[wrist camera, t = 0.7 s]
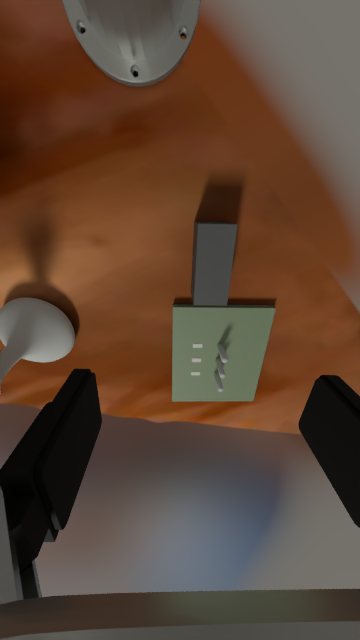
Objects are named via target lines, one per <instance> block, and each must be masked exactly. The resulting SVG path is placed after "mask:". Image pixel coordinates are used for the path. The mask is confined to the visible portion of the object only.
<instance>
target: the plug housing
mask: <svg viewBox="0 0 360 640" xmlns="http://www.w3.org/2000/svg"><path fill="white" fill-rule="evenodd" d="M237 225H238V224H233V223H229V222H198V221H194V239H193V260H192V281H191V295H192V300H193V305H224V306H227V302H228V294H229V286H230V279H231V271H232V263H233V256H234V248H235V241H236V233H237Z"/></svg>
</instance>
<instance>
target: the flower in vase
mask: <svg viewBox="0 0 360 640" xmlns="http://www.w3.org/2000/svg"><path fill="white" fill-rule="evenodd" d="M0 339H1V341H2V342H3V344H4V345H5V346H6V347H5V348H4V349H3V350H2V351H1V352H0V385H1V382H2V380H3V378H4V377H5V375H6V374H7V373H8V371H9V370H10V369H11V368H12V367H13V366H14V364H15V363H17V362H18V361H19V360H20V359H22V358H23V359H26V360H29V361H34V362H52V361H55V360H58V359H60V358H62V357H64V356H66V355H67V354H68V353H69V352H70V351H71V350H72V348H73V346H74V342H75V333H74V329H73V326H72V324H71V322H70V320H69V319H68V317H67V316H66V315H65V314H64V313H63V312H62V311H61V310H60V309H58V308H57V307H56V306H54V305H52V304H50V303H48V302H46V301H43V300H40V299H36V298H29V297H24V298H17V299H14V300H11V301H9V302H8V303H6V304H5V305H4V306H3V307H2V308H1V310H0Z"/></svg>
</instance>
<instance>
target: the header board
mask: <svg viewBox="0 0 360 640" xmlns="http://www.w3.org/2000/svg"><path fill="white" fill-rule="evenodd" d="M275 309H276V308H275V307H274V306H273V305H227V306H224V305H193V304H173V360H172V401H253V400H254V396H255V391H256V387H257V383H258V379H259V375H260V371H261V367H262V363H263V359H264V355H265V350H266V346H267V342H268V338H269V334H270V330H271V326H272V322H273V318H274V313H275Z"/></svg>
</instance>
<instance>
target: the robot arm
mask: <svg viewBox="0 0 360 640" xmlns="http://www.w3.org/2000/svg"><path fill="white" fill-rule="evenodd" d="M200 1H201V0H62V2H63V5H64V8H65V11H66V14H67V17H68V20H69V22H70V24H71V26H72V29H73V31H74V33H75V35H76V37H77V39H78V41H79V42H80V44H81V46H82V47H83V49H84V51H85V52H86V53H87V55H88V56H89V57H90V59H91V60H92V61H93V63H94V64H95V65H96V66H97V67H98V68H99V69H100V70H101V71H102V72H104V73H105V74H106V75H107V76H109V77H111V78H112V79H114V80H115V81H117V82H120V83H122V84H125V85H128V86H136V87H142V86H148V85H152V84H155V83H157V82H159V81H161V80H163V79H164V78H165V77H167V76H168V75H169V74H171V73H172V72H173V71H174V70H175V68H176V67H177V66H178V65H179V64H180V63H181V61H182V59H183V57H184V56H185V54H186V52H187V51H188V49H189V46H190V44H191V41H192V38H193V36H194V33H195V29H196V25H197V20H198V16H199V8H200ZM84 30H85V33H83V34H82V32H83V31H84ZM182 36H185V38H186V39H181V37H182ZM135 73H138V76H137V77H134V74H135ZM101 423H102V417H101V411H100V404H99V397H98V390H97V383H96V377H95V373H91V370H90V369H74V370H73V371H72V372H71V374H70V375H69V377H68V378H67V380H66V381H65V383H64V385H63V386H62V388H61V389H60V391H59V392H58V394H57V395H56V397H55V398H54V400H53V401H52V402H49V403H47V404H46V405H45V406H44V407H43V409H42V410H41V412H40V413H39V414H38V416H37V418H36V419H35V420H34V422H33V423H32V425H31V426H30V427H29V429H28V430H27V432H26V433H25V435H24V436H23V438H22V439H21V441H20V442H19V444H18V445H17V446H16V448H15V449H14V451H13V452H12V454H11V455H10V456H9V458H8V459H7V461H6V462H5V464H4V465H3V467H2V468H1V469H0V640H360V589H311V590H310V589H309V590H249V591H248V590H247V591H197V592H194V591H193V592H152V593H151V592H147V593H112V594H89V595H67V596H50V597H42V594H41V589H40V584H39V579H38V574H37V569H36V564H35V558H36V557H37V556H38V554H39V551H40V549H41V546H42V544H43V542H55V540H56V537H57V534H58V532H59V530H63V529H64V528H65V526H66V524H67V521H68V519H69V516H70V513H71V510H72V507H73V505H74V502H75V499H76V496H77V493H78V490H79V487H80V485H81V482H82V479H83V476H84V473H85V471H86V468H87V465H88V462H89V459H90V456H91V453H92V451H93V448H94V445H95V442H96V439H97V437H98V434H99V431H100V428H101ZM299 429H300V431H301V433H302V435H303V437H304V438H305V440H306V442H307V443H308V445H309V447H310V448H311V450H312V452H313V454H314V455H315V457H316V459H317V460H318V462H319V464H320V466H321V467H322V469H323V471H324V472H325V474H326V476H327V477H328V479H329V481H330V482H331V484H332V486H333V488H334V489H335V491H336V492H337V494H338V496H339V498H340V500H341V501H342V503H343V505H344V506H345V508H346V510H347V511H348V513H349V515H350V517H351V518H352V520H353V521H354V523H355V524H356V525H357V526H358V527H359V528H360V396H359V395H358V394H357V393H355V392H354V391H353V390H352V389H351V388H350V387H349V386H348V385H347V384H346V383H345V382H344V381H343V380H342V379H341V378H340V377H339V376H336V375H321V376H320V377H319V378H318V379H316V381H315V383H314V386H313V388H312V391H311V393H310V395H309V398H308V400H307V403H306V405H305V408H304V410H303V413H302V415H301V418H300V420H299Z"/></svg>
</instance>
